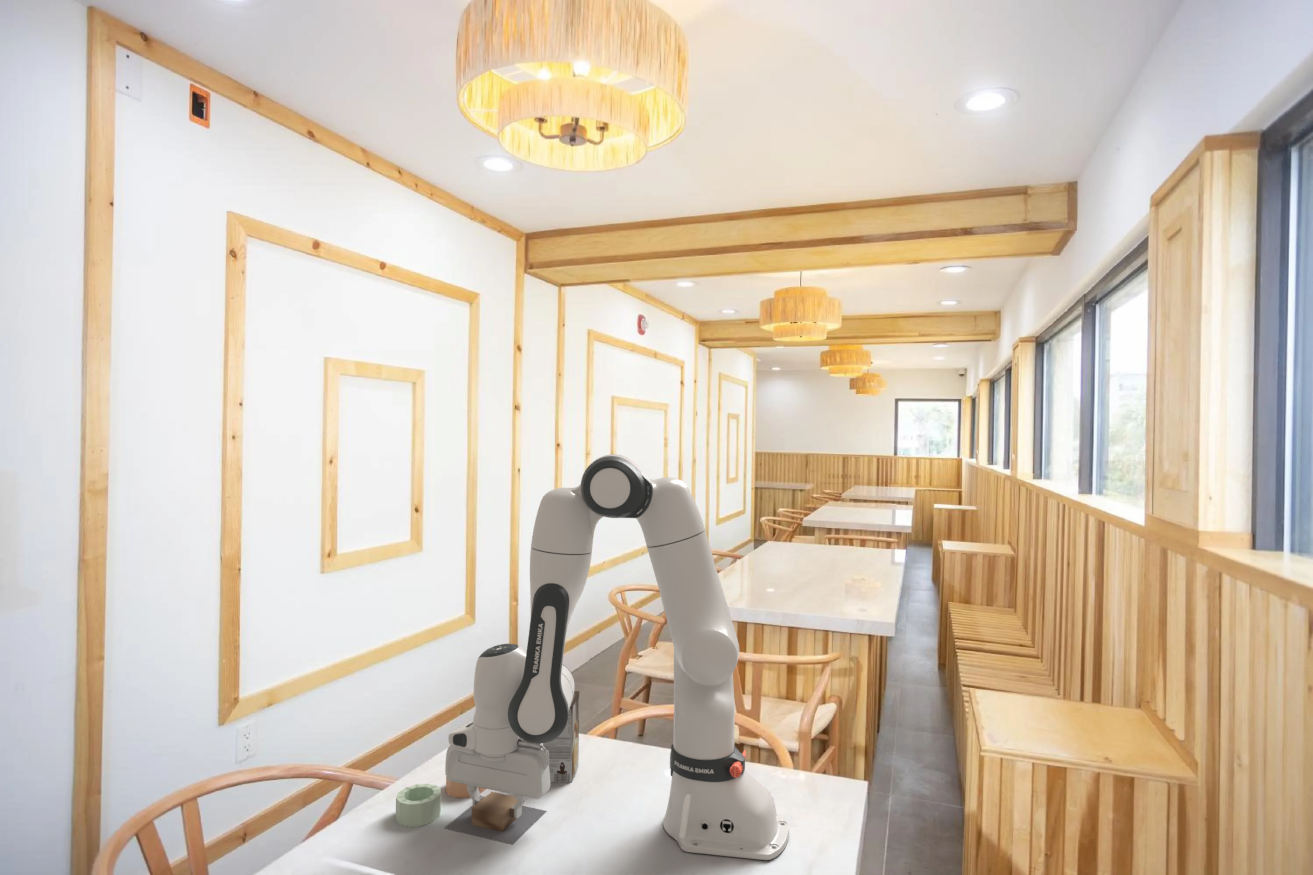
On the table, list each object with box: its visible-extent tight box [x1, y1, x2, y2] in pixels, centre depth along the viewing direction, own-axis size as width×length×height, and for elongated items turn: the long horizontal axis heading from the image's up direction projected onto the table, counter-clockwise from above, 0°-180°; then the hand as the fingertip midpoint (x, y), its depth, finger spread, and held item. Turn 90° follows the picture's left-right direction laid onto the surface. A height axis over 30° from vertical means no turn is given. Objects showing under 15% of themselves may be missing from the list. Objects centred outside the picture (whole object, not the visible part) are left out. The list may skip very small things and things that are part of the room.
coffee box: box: [542, 690, 580, 784], centre depth 151 cm, size 9×6×16 cm
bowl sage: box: [395, 783, 442, 828], centre depth 133 cm, size 8×8×4 cm
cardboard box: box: [472, 791, 518, 832], centre depth 132 cm, size 6×6×3 cm
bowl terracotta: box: [445, 775, 487, 799], centre depth 143 cm, size 8×8×4 cm
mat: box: [443, 805, 548, 845], centre depth 132 cm, size 14×12×1 cm
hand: (496, 812), depth 132 cm, fingers closed on cardboard box, 6 cm apart
